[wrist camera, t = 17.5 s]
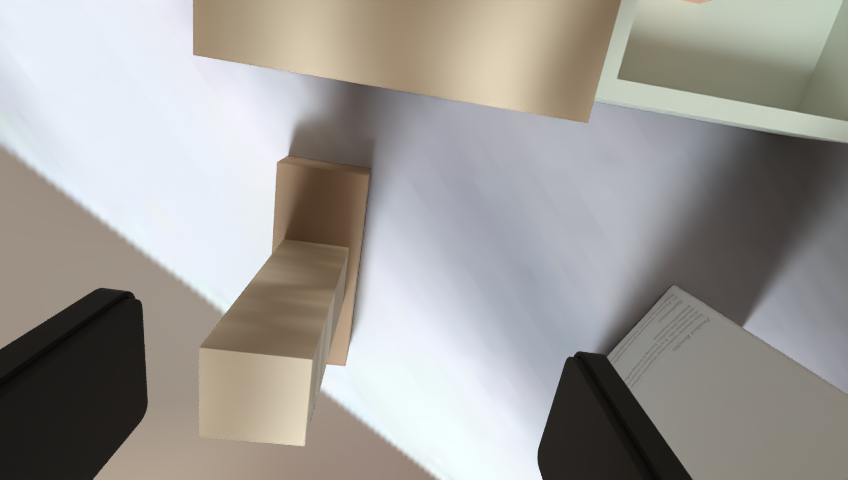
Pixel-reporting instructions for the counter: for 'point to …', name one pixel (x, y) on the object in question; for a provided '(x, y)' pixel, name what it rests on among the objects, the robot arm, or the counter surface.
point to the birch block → (425, 46)
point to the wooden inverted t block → (288, 310)
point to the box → (734, 64)
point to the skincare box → (731, 397)
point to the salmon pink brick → (697, 1)
